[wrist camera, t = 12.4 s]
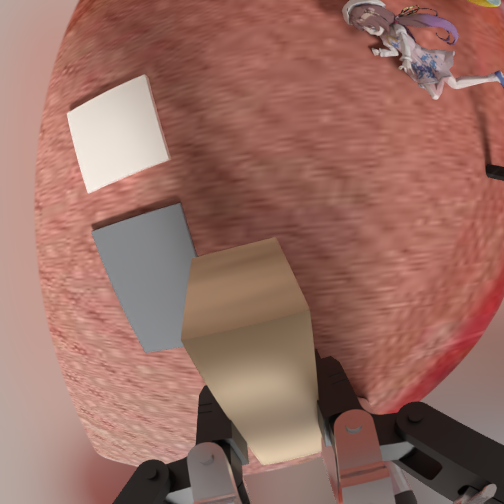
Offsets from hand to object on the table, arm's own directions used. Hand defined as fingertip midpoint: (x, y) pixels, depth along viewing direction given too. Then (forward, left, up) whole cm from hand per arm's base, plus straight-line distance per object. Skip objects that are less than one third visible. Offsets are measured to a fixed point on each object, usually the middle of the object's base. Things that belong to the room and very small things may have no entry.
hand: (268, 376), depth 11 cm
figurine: (+16, -20, -15) cm, 30 cm away
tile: (+10, +8, -15) cm, 19 cm away
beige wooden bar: (-3, 0, -2) cm, 3 cm away
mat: (-1, +9, -15) cm, 17 cm away
